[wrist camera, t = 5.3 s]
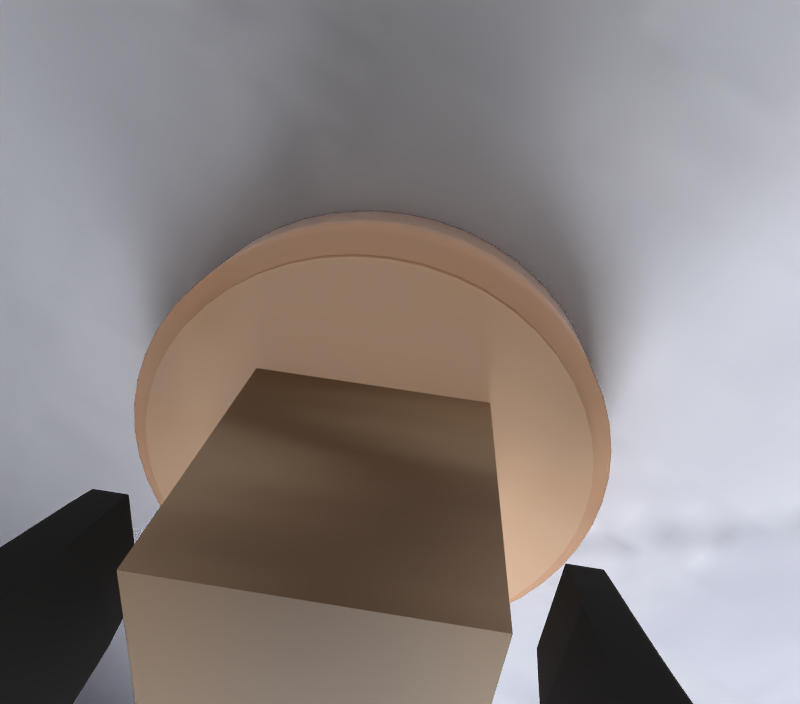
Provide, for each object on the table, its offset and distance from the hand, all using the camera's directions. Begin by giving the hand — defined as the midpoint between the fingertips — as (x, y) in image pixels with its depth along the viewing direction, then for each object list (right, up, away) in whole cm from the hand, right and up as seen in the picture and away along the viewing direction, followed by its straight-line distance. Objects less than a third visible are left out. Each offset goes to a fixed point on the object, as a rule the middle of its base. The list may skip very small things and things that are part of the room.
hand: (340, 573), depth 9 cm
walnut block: (0, +1, +2) cm, 3 cm away
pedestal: (0, +2, +4) cm, 5 cm away
